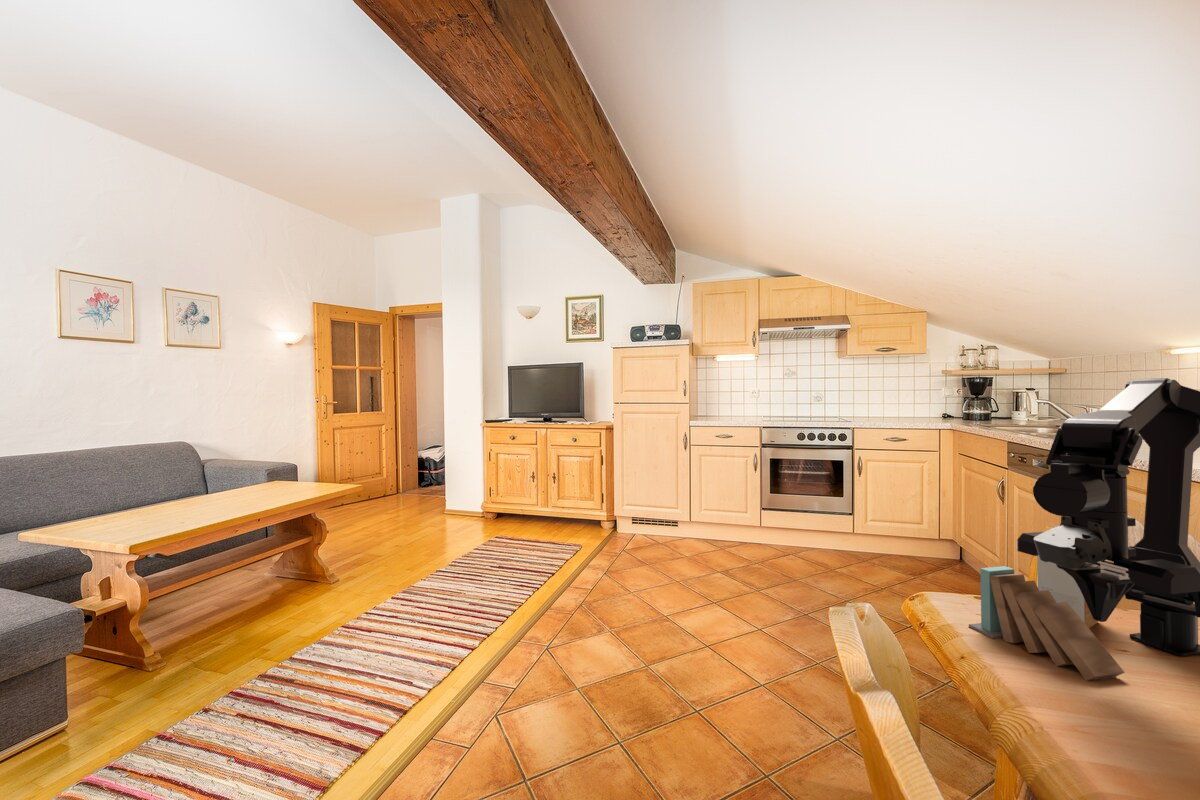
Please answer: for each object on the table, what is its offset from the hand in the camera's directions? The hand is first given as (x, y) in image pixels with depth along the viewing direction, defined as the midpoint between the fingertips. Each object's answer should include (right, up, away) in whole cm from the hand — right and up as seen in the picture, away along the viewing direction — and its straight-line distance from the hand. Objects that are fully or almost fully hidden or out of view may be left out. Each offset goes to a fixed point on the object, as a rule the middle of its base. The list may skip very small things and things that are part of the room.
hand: (1099, 620), depth 70 cm
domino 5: (0, -7, -1) cm, 7 cm away
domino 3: (-1, -8, +7) cm, 11 cm away
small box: (+12, -8, +18) cm, 23 cm away
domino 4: (0, -8, +3) cm, 8 cm away
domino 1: (-2, -8, +15) cm, 17 cm away
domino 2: (-2, -8, +11) cm, 13 cm away
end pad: (-2, -8, +15) cm, 17 cm away
